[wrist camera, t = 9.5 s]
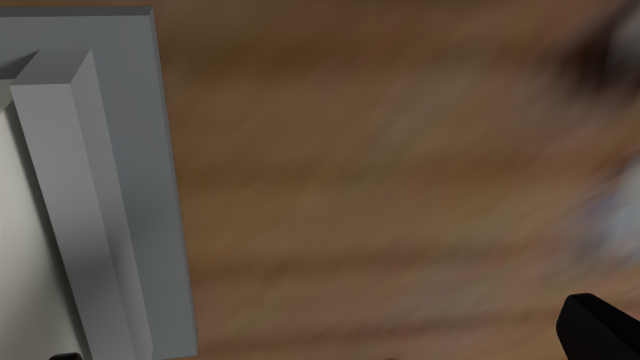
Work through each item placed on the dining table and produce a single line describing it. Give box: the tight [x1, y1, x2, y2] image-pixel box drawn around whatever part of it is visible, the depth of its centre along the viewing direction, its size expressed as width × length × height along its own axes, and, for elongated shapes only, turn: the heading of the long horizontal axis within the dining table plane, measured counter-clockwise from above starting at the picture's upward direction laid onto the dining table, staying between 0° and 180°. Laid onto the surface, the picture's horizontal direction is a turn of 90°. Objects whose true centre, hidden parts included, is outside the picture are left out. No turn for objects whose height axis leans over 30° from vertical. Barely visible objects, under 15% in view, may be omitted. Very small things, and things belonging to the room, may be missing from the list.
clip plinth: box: [0, 6, 198, 360], centre depth 19 cm, size 16×11×4 cm
